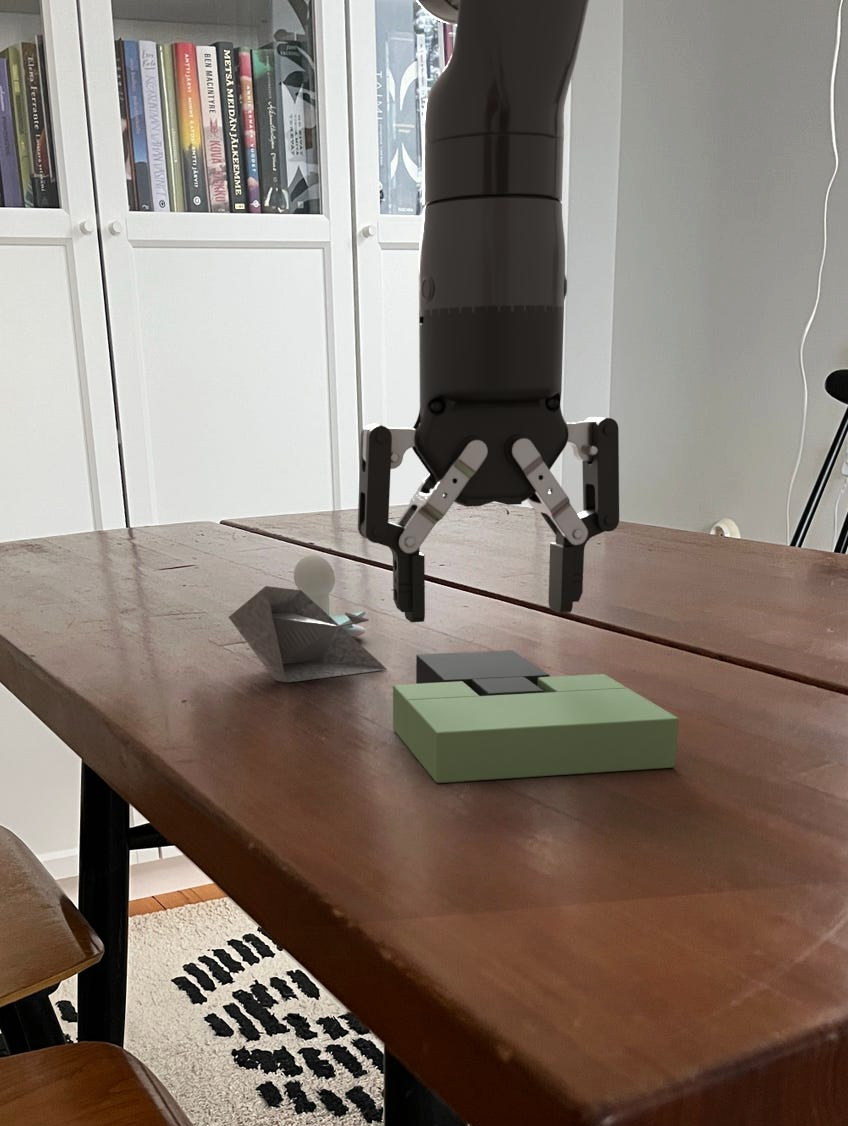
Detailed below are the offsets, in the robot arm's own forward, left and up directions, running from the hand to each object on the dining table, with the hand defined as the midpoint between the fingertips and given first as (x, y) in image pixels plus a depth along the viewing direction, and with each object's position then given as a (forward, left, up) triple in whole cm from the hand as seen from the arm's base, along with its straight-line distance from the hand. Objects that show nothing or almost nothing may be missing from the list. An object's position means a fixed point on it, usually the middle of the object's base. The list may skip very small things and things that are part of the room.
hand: (487, 615), depth 71 cm
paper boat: (+9, -9, -6) cm, 14 cm away
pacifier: (+6, -22, -6) cm, 24 cm away
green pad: (0, +9, -5) cm, 10 cm away
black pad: (0, +2, -5) cm, 6 cm away
